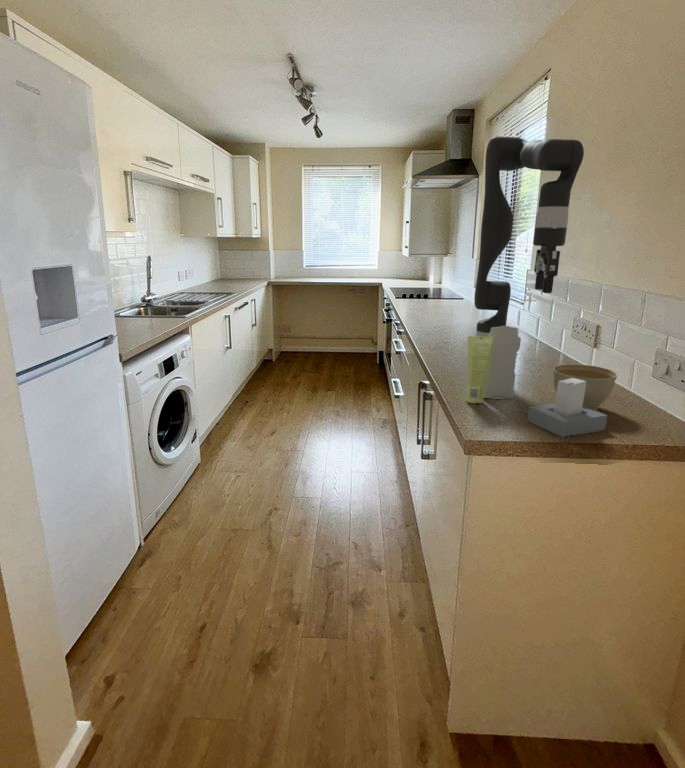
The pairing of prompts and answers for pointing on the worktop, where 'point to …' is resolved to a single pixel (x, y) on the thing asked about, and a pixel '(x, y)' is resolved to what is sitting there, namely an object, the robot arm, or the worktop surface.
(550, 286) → the robot arm
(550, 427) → the socket frame
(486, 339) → the tube
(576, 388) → the skincare box
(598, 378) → the planter bowl
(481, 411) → the worktop surface
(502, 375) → the tall pale column
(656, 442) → the worktop surface
